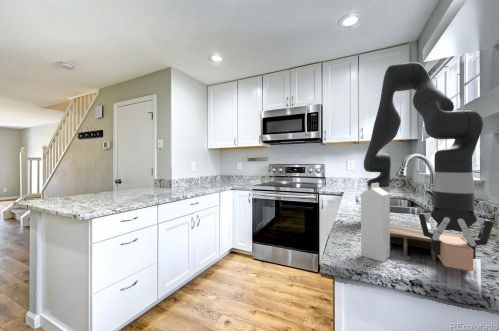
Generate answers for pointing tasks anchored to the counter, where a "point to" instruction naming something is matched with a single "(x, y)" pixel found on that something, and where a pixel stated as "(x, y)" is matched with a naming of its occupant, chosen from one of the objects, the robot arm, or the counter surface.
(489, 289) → the counter surface
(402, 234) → the wooden bench
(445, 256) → the block
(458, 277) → the counter surface
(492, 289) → the counter surface
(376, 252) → the milk
